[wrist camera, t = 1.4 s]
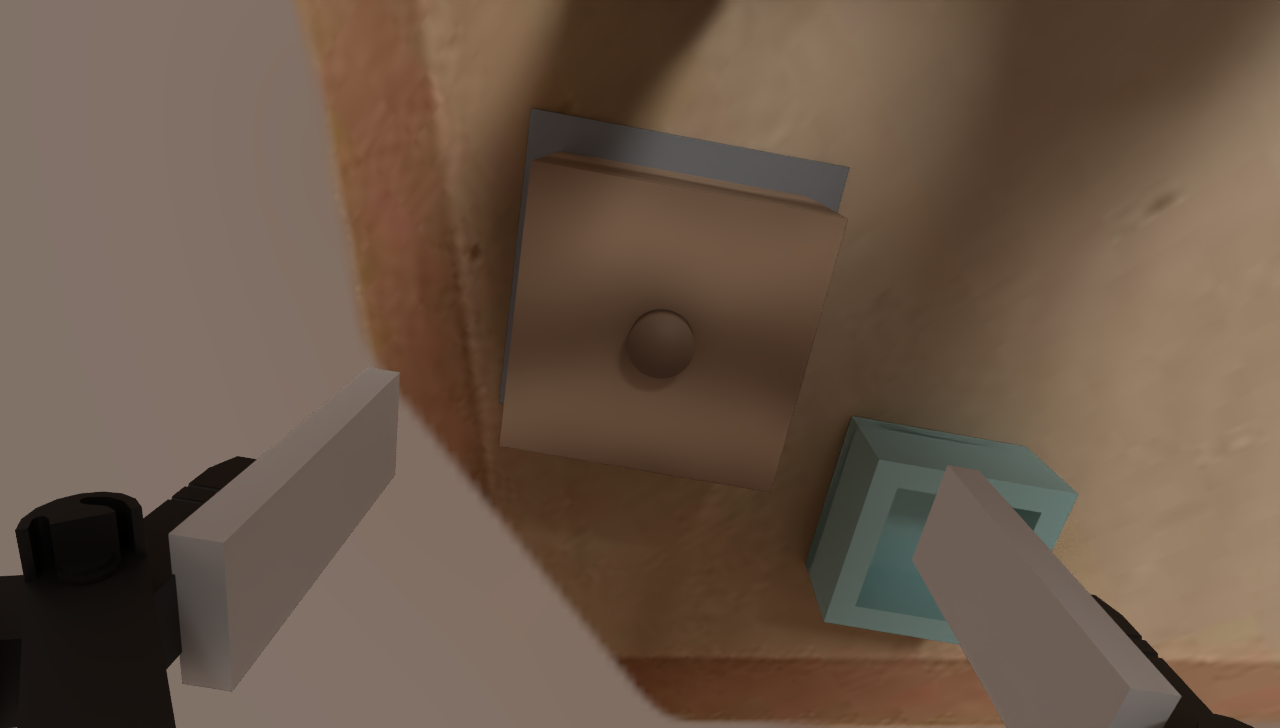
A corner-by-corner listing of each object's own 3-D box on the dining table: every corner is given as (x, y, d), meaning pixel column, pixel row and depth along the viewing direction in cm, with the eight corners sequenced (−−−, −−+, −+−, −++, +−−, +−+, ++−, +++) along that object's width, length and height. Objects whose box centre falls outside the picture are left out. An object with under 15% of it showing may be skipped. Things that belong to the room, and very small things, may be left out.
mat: (532, 108, 29) (531, 108, 29) (848, 167, 29) (849, 167, 29) (499, 401, 34) (498, 402, 33) (771, 448, 34) (771, 450, 34)
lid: (561, 150, 29) (526, 161, 22) (806, 196, 29) (854, 222, 22) (531, 380, 33) (494, 455, 26) (749, 418, 33) (773, 503, 26)
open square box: (851, 416, 33) (879, 459, 29) (1026, 446, 34) (1078, 494, 29) (805, 563, 36) (823, 621, 32) (965, 590, 37) (1004, 651, 32)
